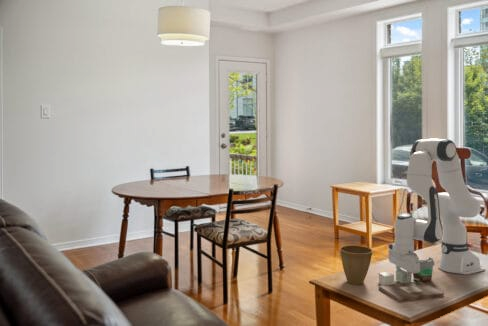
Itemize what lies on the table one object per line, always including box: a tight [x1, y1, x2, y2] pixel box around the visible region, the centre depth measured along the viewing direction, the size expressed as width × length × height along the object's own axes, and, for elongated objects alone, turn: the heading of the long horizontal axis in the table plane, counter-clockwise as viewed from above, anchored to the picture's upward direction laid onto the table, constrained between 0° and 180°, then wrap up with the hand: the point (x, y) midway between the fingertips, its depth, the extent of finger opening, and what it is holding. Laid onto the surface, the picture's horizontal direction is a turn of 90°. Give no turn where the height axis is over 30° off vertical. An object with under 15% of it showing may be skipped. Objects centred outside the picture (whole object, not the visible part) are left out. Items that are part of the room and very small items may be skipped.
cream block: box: [378, 271, 395, 286], centre depth 222 cm, size 5×5×5 cm
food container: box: [412, 257, 435, 284], centre depth 225 cm, size 12×6×10 cm, turn 118°
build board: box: [378, 281, 445, 303], centre depth 210 cm, size 22×16×2 cm
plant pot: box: [339, 244, 373, 285], centre depth 225 cm, size 15×15×16 cm
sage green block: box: [395, 268, 413, 284], centre depth 224 cm, size 5×5×5 cm
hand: (403, 276), depth 224 cm, fingers closed on sage green block, 5 cm apart
